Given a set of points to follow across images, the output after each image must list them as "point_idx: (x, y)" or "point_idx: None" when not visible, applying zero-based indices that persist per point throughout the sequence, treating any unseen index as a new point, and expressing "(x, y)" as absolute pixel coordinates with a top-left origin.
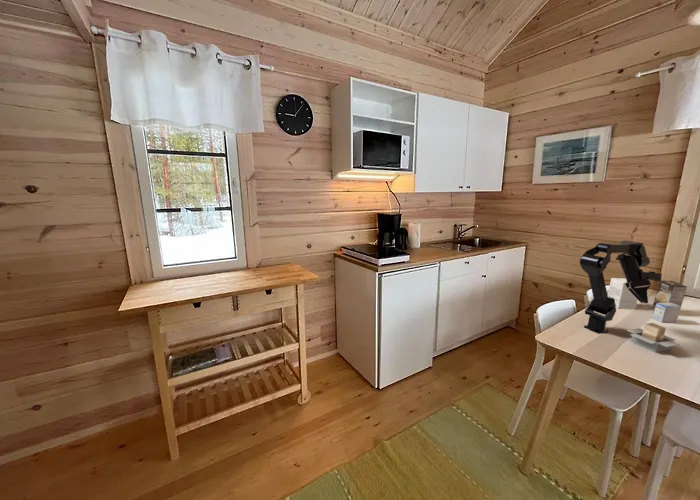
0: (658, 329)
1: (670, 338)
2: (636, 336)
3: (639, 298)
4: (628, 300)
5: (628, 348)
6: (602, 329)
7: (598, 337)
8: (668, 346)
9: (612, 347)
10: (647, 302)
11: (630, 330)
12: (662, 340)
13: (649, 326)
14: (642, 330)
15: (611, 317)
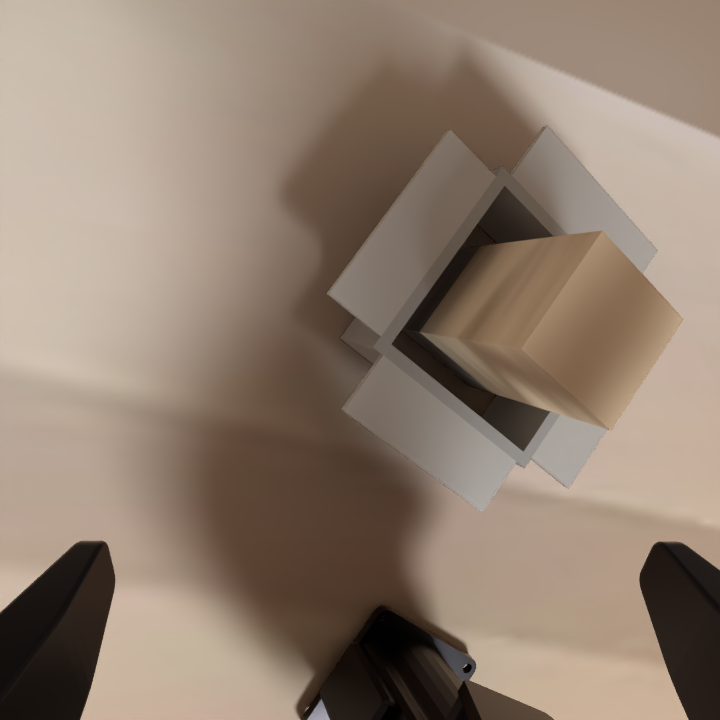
0: (672, 314)
1: (450, 171)
2: (591, 444)
3: (71, 703)
4: None
5: (610, 457)
6: (437, 655)
7: (543, 635)
8: (641, 236)
9: (651, 540)
10: (691, 556)
11: (472, 487)
12: (502, 246)
13: (631, 386)
14: (396, 390)
15: (497, 710)
